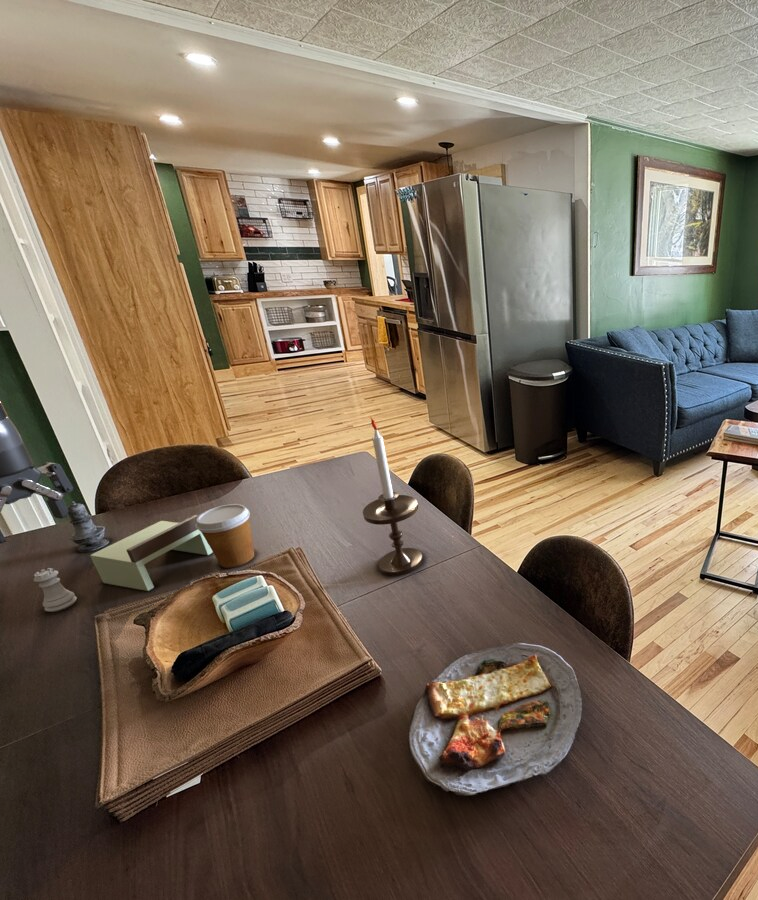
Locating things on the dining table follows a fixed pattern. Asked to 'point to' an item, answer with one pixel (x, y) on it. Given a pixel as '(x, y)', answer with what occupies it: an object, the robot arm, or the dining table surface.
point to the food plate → (495, 718)
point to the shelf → (147, 552)
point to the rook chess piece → (54, 591)
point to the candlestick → (392, 516)
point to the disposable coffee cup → (228, 533)
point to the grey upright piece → (85, 529)
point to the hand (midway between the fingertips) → (31, 529)
